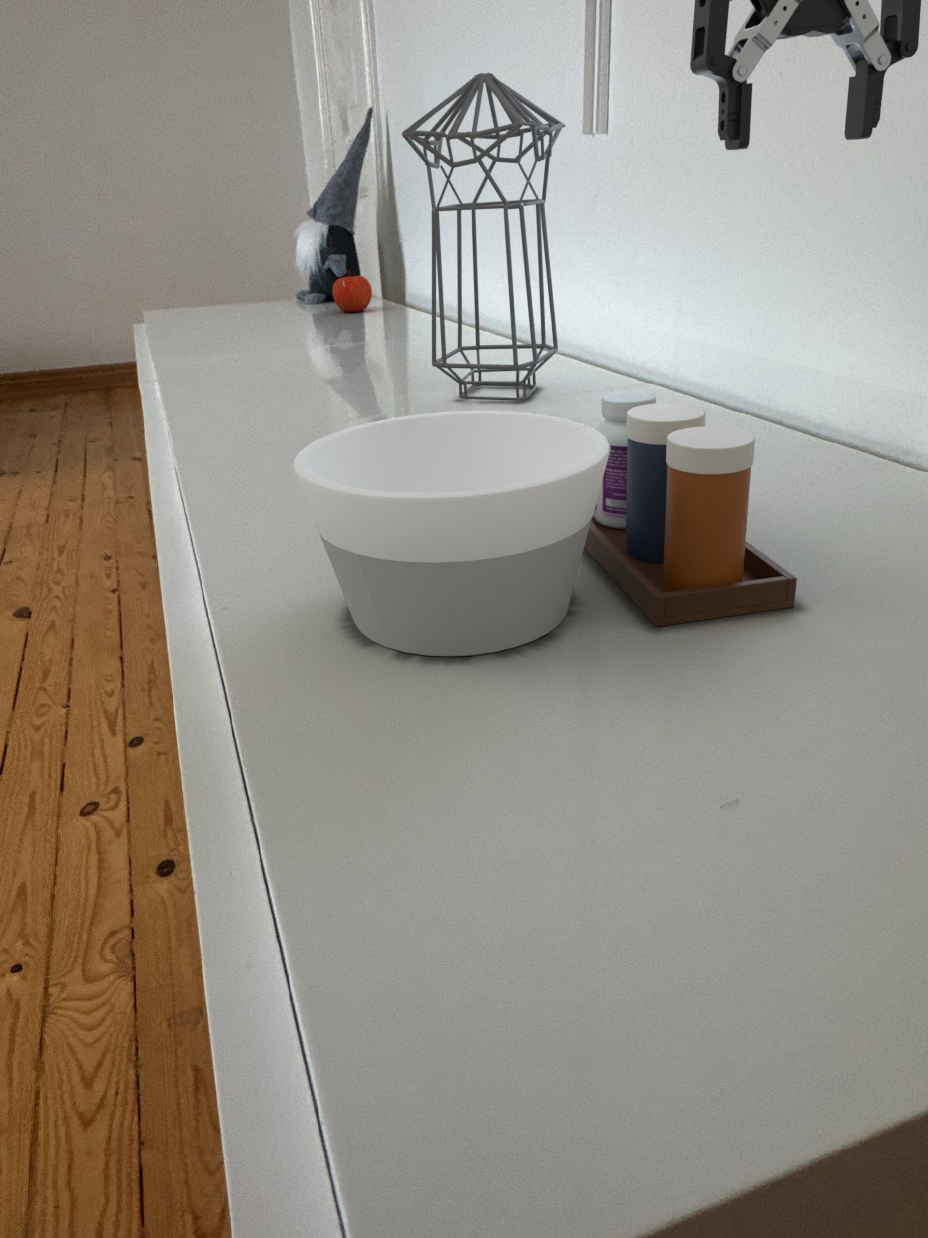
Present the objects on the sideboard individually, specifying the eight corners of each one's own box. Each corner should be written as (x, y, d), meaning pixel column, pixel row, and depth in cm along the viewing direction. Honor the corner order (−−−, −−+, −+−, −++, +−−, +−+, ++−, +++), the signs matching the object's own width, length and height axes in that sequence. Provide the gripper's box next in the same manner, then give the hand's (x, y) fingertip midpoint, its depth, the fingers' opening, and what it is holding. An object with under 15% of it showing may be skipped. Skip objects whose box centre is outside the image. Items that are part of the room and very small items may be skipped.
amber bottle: (721, 568, 66) (731, 422, 61) (757, 597, 61) (770, 442, 57) (649, 577, 65) (653, 430, 60) (680, 608, 60) (687, 452, 56)
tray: (664, 504, 79) (664, 481, 79) (794, 607, 61) (797, 577, 60) (556, 517, 78) (556, 494, 77) (656, 627, 59) (657, 597, 58)
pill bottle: (676, 519, 75) (682, 394, 70) (625, 536, 72) (628, 407, 68) (628, 503, 79) (630, 384, 74) (578, 518, 76) (578, 396, 72)
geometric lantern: (542, 410, 111) (534, 61, 96) (415, 407, 116) (389, 75, 101) (572, 381, 124) (570, 71, 110) (457, 380, 129) (440, 82, 114)
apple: (363, 314, 192) (359, 271, 189) (327, 314, 195) (322, 272, 192) (380, 308, 199) (376, 267, 196) (345, 308, 202) (341, 268, 198)
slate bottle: (680, 533, 72) (686, 399, 68) (710, 558, 67) (718, 416, 63) (613, 542, 71) (615, 407, 67) (639, 568, 66) (643, 424, 62)
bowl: (661, 642, 57) (668, 466, 53) (341, 704, 53) (318, 517, 48) (545, 538, 74) (543, 397, 69) (295, 578, 69) (274, 430, 65)
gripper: (732, -182, 52) (720, 153, 59) (972, -191, 54) (932, 133, 61) (678, -142, 58) (673, 154, 66) (893, -152, 60) (865, 136, 68)
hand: (798, 144), depth 63 cm, fingers open, 8 cm apart
